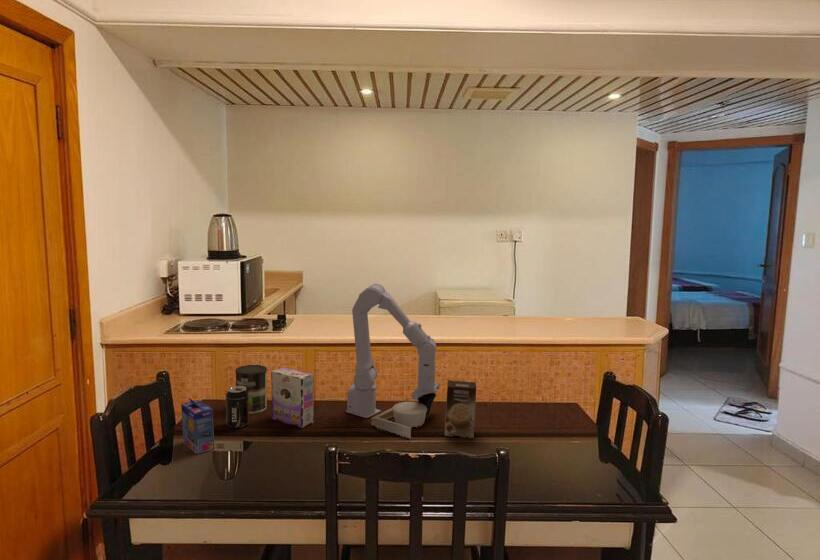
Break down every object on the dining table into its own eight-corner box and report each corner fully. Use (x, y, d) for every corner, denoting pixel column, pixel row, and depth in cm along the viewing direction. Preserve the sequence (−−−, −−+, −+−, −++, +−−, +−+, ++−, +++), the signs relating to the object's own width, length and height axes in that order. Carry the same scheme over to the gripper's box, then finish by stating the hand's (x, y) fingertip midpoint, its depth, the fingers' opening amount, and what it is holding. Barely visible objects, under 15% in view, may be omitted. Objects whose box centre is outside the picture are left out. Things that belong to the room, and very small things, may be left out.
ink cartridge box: (181, 443, 154) (180, 395, 152) (200, 438, 158) (199, 391, 156) (195, 455, 147) (194, 405, 145) (214, 449, 151) (213, 400, 149)
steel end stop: (375, 428, 168) (375, 417, 167) (376, 427, 168) (377, 417, 168) (409, 439, 161) (409, 428, 160) (410, 438, 161) (410, 427, 161)
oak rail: (370, 425, 170) (370, 418, 170) (395, 413, 181) (395, 406, 181) (374, 426, 169) (374, 419, 169) (398, 414, 180) (399, 407, 180)
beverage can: (240, 431, 163) (239, 393, 162) (221, 427, 165) (220, 390, 164) (253, 422, 170) (252, 386, 168) (235, 419, 172) (234, 384, 170)
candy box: (314, 423, 171) (314, 373, 169) (301, 429, 166) (301, 378, 164) (284, 413, 178) (283, 366, 176) (270, 419, 173) (270, 370, 171)
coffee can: (259, 415, 176) (258, 374, 174) (230, 412, 178) (229, 372, 176) (272, 404, 186) (271, 365, 184) (244, 402, 188) (244, 363, 186)
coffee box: (444, 436, 163) (446, 386, 161) (445, 428, 170) (446, 379, 167) (474, 438, 162) (476, 388, 160) (473, 430, 169) (475, 381, 167)
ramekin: (387, 418, 176) (387, 403, 175) (417, 414, 180) (418, 399, 180) (400, 432, 166) (400, 415, 165) (432, 427, 170) (432, 411, 169)
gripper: (424, 383, 168) (423, 424, 170) (447, 372, 180) (446, 410, 182) (406, 378, 172) (405, 418, 174) (430, 368, 184) (429, 406, 186)
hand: (425, 414), depth 178 cm, fingers closed
